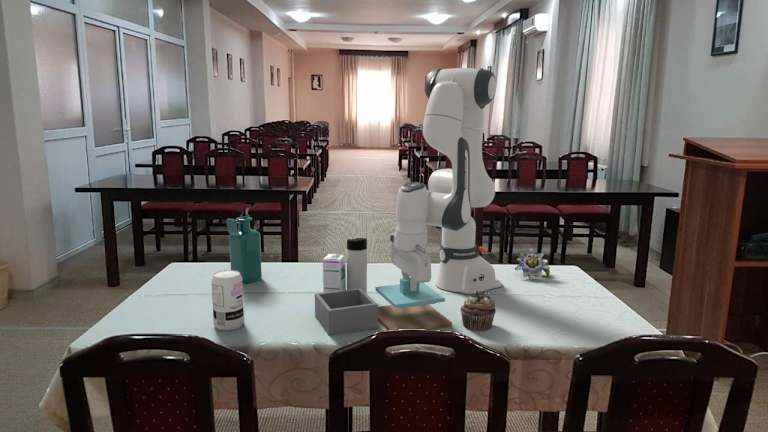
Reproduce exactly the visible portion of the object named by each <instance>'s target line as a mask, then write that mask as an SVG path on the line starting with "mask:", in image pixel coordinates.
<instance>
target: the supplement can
mask: <svg viewBox="0 0 768 432" xmlns="http://www.w3.org/2000/svg"><path fill="white" fill-rule="evenodd" d="M210 283H211V298H212V316H213V327H215V328H216V329H217V330H220V331H232V330H233V331H234V330H237V329H239V328H241V327H242V326H243V324H245V309H244V307H245V306H244V283H242V276H241V275H240V272H238V271H235V270H231V269H225V270H220V271H216V272H214V273H213V276H212V277H211V281H210Z"/></svg>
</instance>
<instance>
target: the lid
mask: <svg viewBox="0 0 768 432" xmlns="http://www.w3.org/2000/svg"><path fill="white" fill-rule="evenodd" d="M410 282H411V279H410V278H403V277H402V278H399V284H391V285H383V286H382V285H381V286H375V292H377V294H379V295H380V296H381V297H383V299H384V300H385V301H387V302H388V303H389V305H392V306H393V307H395V308H406V307H413V306H421V305H428V304H429V305H435V304H436V303H444V302H446V297H444V296H443V295H441V294H440V293H438V292H437V291H436V290H434V289H433V288H431V287H430V286H429V285H427V284H426V283H425V282H424V283H419V282H418V283H417V289H416V291H411V290H410V289H409V284H410Z"/></svg>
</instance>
